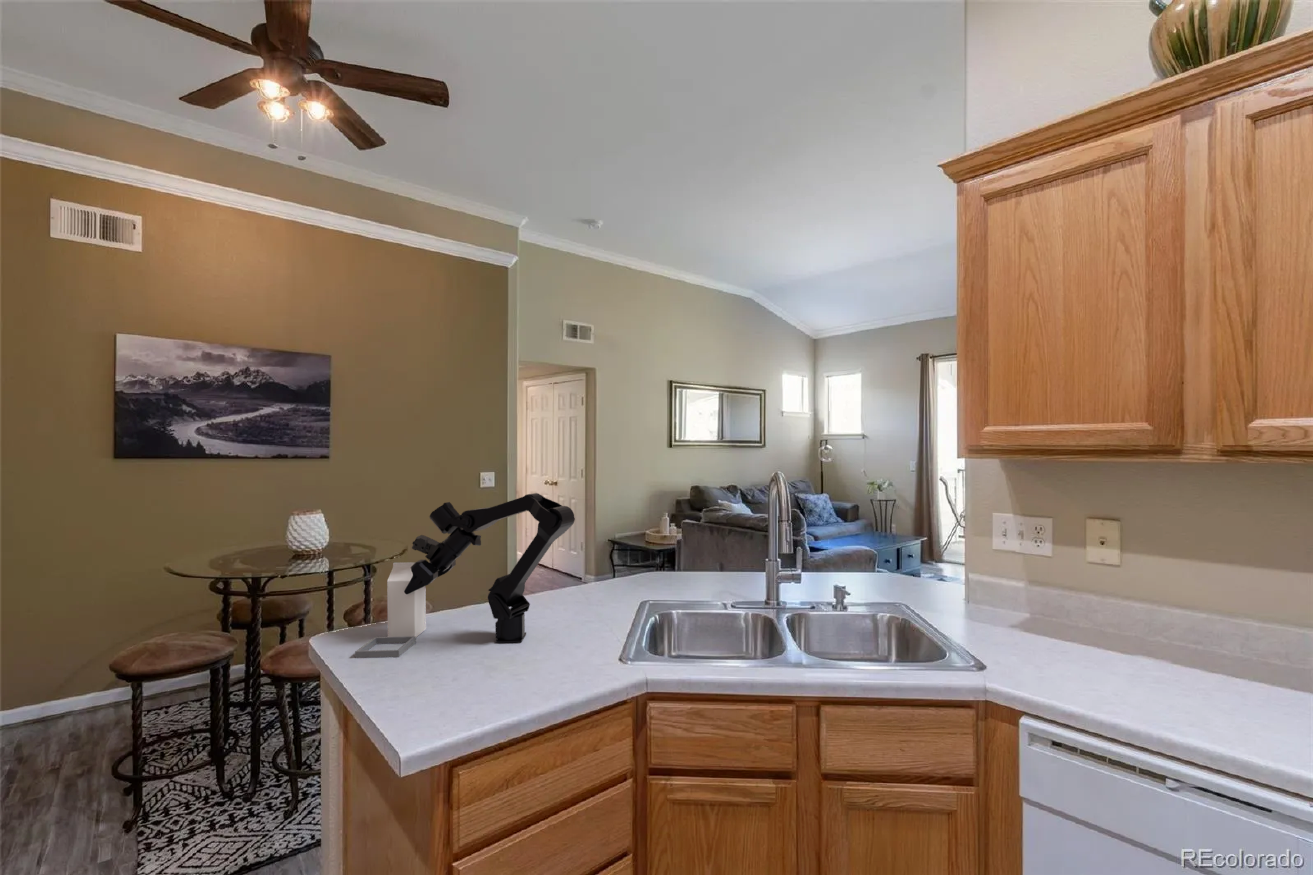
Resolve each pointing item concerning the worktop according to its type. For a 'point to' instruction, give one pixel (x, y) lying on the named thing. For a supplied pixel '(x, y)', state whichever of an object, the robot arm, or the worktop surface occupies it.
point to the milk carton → (405, 603)
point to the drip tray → (367, 653)
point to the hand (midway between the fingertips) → (412, 588)
